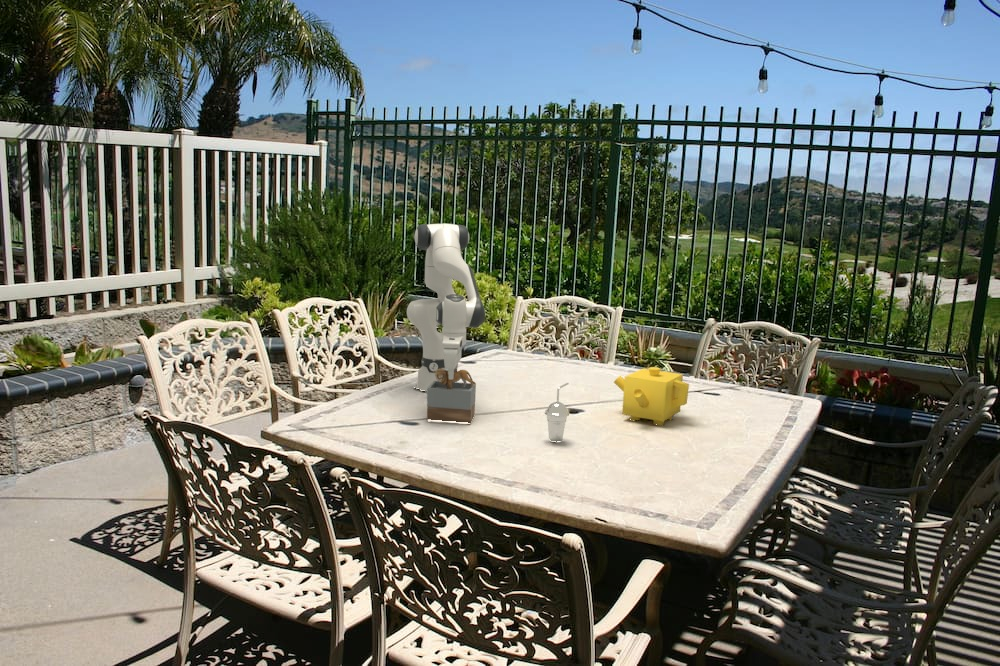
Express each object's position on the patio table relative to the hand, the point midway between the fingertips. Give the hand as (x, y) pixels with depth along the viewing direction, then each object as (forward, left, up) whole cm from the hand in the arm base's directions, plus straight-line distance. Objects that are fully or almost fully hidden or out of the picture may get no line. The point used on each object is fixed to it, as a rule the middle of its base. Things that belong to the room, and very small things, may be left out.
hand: (452, 376), depth 298 cm
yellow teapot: (-17, +74, -17) cm, 78 cm away
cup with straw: (+20, +39, -17) cm, 47 cm away
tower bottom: (0, 0, -17) cm, 17 cm away
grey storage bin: (0, 0, -11) cm, 11 cm away
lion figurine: (+2, +2, -5) cm, 5 cm away
